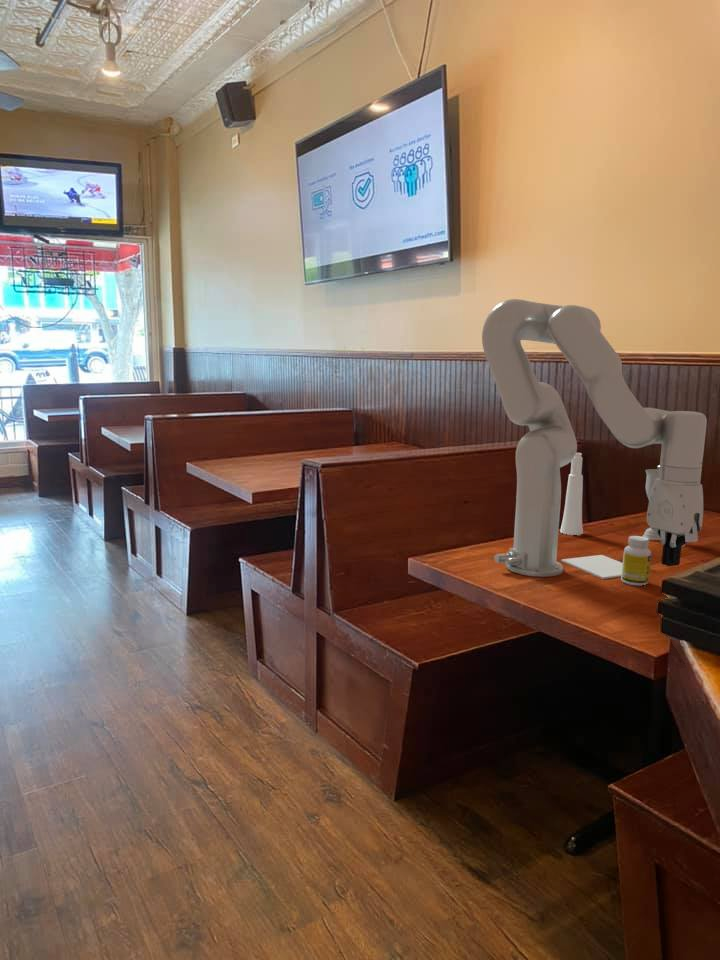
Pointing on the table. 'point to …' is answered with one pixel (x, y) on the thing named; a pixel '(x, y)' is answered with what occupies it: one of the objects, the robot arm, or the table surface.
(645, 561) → the supplement bottle
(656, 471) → the chalice
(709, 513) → the table surface
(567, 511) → the cosmetic bottle
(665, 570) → the table surface
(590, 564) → the mat
